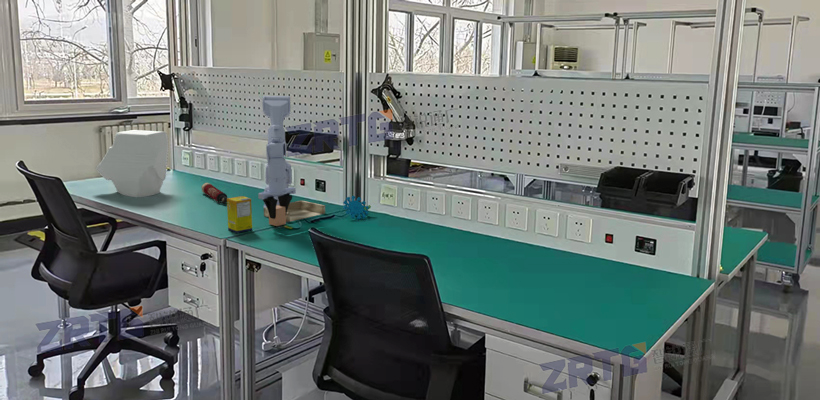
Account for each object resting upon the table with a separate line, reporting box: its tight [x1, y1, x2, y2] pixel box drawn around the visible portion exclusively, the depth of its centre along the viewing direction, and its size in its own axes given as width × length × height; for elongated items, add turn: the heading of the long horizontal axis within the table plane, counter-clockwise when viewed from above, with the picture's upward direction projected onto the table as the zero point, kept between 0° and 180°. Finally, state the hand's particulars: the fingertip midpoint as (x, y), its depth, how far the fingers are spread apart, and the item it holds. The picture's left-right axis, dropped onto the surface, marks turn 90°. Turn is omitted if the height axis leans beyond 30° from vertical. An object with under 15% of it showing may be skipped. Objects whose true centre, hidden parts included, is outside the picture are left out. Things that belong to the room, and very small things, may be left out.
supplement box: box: [226, 195, 253, 234], centre depth 212 cm, size 6×6×11 cm
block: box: [268, 205, 287, 227], centre depth 219 cm, size 4×4×6 cm
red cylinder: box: [201, 182, 228, 204], centre depth 262 cm, size 5×5×30 cm
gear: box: [342, 195, 372, 220], centre depth 235 cm, size 11×6×10 cm
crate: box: [263, 199, 326, 223], centre depth 234 cm, size 13×18×4 cm
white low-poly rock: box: [95, 129, 169, 198], centre depth 269 cm, size 21×27×26 cm
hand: (278, 216), depth 219 cm, fingers closed on block, 4 cm apart
